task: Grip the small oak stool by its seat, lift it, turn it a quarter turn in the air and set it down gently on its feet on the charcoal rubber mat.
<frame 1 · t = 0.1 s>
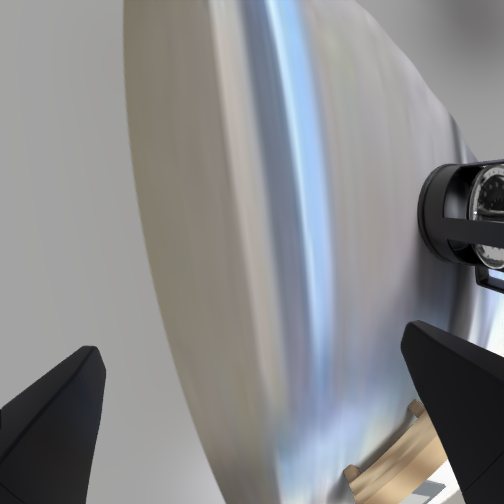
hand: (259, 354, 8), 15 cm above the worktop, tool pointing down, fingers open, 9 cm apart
french press: (453, 218, 25), on the worktop
oak stool: (392, 443, 28), on the worktop
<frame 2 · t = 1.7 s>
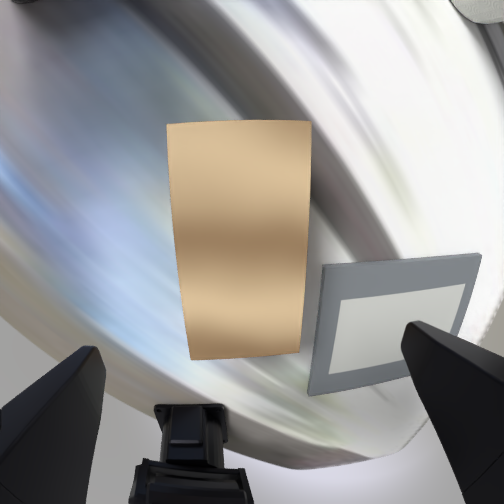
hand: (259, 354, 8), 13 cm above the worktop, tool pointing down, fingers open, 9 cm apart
oak stool: (235, 219, 20), on the worktop
charcoal mat: (399, 325, 25), on the worktop
paper towel roll: (468, 0, 14), on the worktop
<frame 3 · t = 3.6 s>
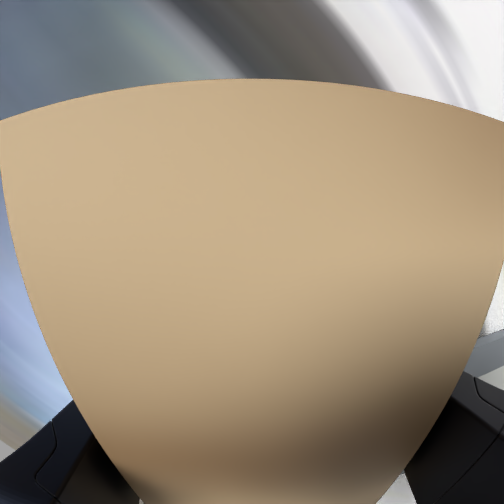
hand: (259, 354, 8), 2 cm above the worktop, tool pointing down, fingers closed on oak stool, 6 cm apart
oak stool: (250, 310, 10), on the worktop, touching gripper
charcoal mat: (461, 407, 15), on the worktop
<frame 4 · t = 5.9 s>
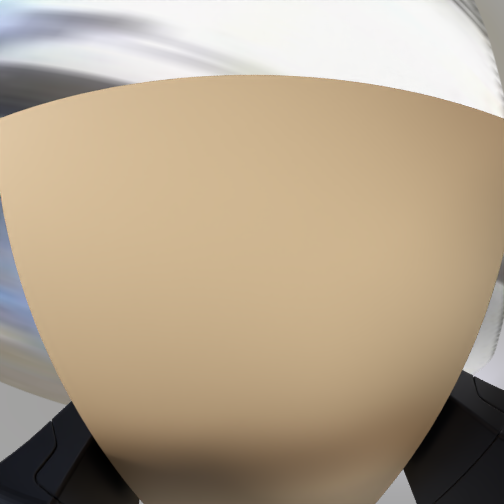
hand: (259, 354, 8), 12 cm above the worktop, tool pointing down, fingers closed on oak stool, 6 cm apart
oak stool: (249, 309, 10), point 10 cm above the worktop, touching gripper
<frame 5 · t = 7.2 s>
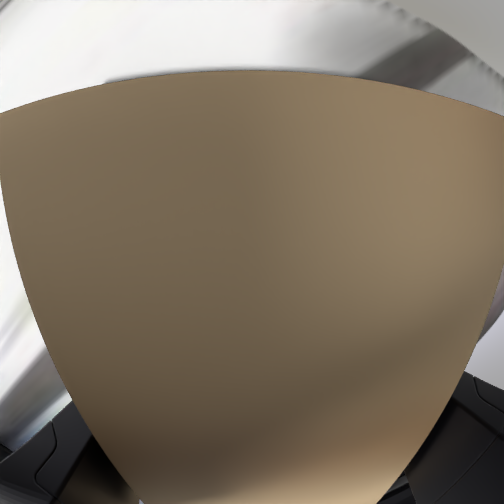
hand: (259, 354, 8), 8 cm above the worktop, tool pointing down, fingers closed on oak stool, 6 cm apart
french press: (3, 453, 23), on the worktop
oak stool: (250, 308, 10), point 6 cm above the worktop, touching gripper
when the fingers open (4 cm above the worktop, at t = 8.4 s): oak stool stays where it is, resting on charcoal mat.
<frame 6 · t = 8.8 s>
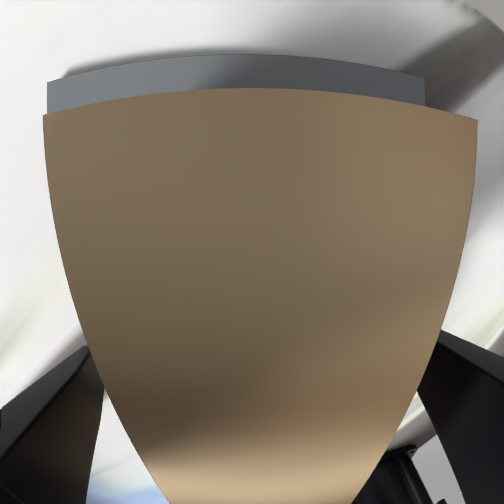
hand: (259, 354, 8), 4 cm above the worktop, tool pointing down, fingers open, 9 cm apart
oak stool: (248, 294, 11), point 1 cm above the worktop, touching charcoal mat
charcoal mat: (246, 286, 12), on the worktop
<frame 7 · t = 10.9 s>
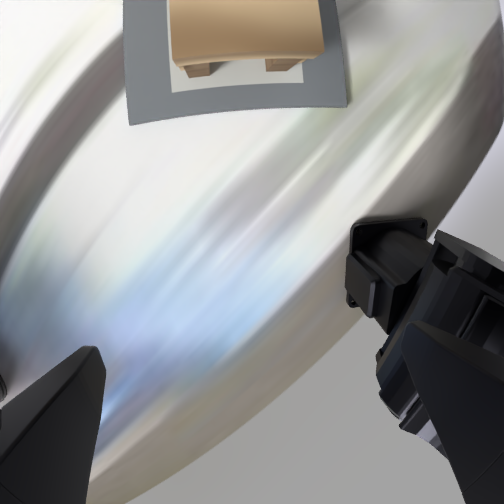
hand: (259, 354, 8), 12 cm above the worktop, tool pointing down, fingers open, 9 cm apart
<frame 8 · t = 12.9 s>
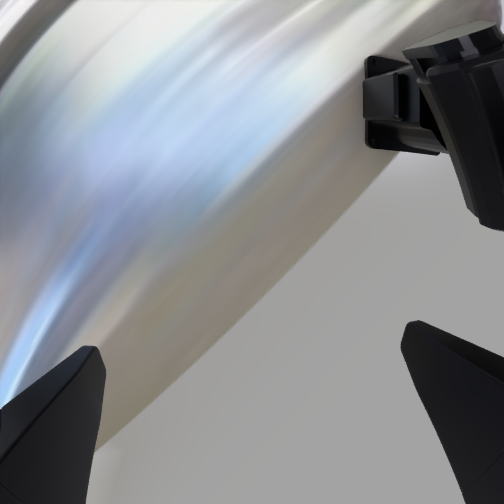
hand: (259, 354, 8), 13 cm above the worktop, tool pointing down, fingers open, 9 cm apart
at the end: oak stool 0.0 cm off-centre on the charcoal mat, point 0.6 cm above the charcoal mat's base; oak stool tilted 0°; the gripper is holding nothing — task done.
